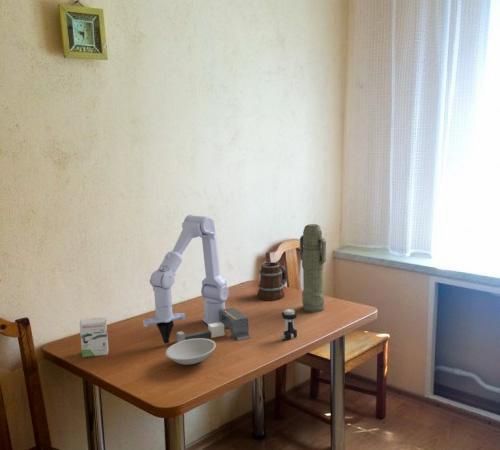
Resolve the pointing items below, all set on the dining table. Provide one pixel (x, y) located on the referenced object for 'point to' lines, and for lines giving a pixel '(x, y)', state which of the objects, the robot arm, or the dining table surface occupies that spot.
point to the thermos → (313, 267)
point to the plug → (204, 332)
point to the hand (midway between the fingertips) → (165, 342)
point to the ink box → (94, 336)
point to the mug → (271, 281)
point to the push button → (289, 324)
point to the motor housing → (235, 323)
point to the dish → (190, 350)
